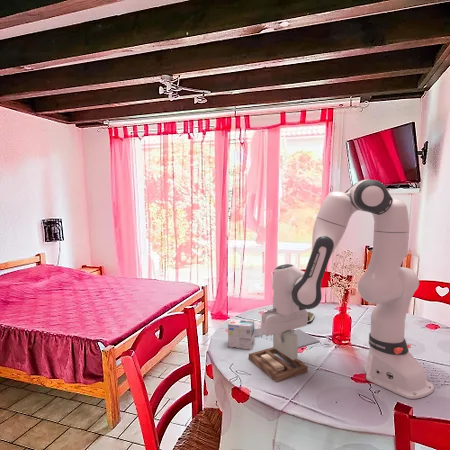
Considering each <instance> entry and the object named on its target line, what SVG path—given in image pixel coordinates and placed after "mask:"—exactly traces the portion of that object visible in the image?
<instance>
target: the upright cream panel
mask: <svg viewBox="0 0 450 450" xmlns="http://www.w3.org/2000/svg"><path fill="white" fill-rule="evenodd" d="M280 336H281V337H282V338H284V340H283V341H284V342H283V343H279V342H278V337H277V336H276V334H273V335H272V343H273V344H272V345H273V346H272V347H273V348H275V349H276V350H278V351H279V352H281V353H282V354H284V355H286V356H287V357H289V358H290V359H292V360H294V359H299V357H298V354H299V353H298V350H299V348H298V347H297V335H296V334H294V333H293V332H291V331H289V330H288V331H285V332H281V335H280Z"/></svg>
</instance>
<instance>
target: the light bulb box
mask: <svg viewBox="0 0 450 450" xmlns="http://www.w3.org/2000/svg"><path fill="white" fill-rule="evenodd" d="M254 321H255V320H251V319H237V318H231V319H230V320H229V322H228V323H227V338H228V339H227V340H228V341H227V343H228V346H229V347H228V346H227V347H228V348H232V347H236V348H235V349H241V348H242V349H243V350H249V351H250V350H252V349H253V348H254V346H255V345H256V344H255V341H256V340H255V337H256V336H255V335H254ZM242 349H241V350H242Z"/></svg>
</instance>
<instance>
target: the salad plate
mask: <svg viewBox="0 0 450 450" xmlns="http://www.w3.org/2000/svg"><path fill="white" fill-rule="evenodd" d="M307 315H308V323H307V325H308V324H311V323H312V322H313V320H314V319H315V313H313V312H311V311H307Z"/></svg>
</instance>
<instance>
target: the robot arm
mask: <svg viewBox="0 0 450 450" xmlns="http://www.w3.org/2000/svg"><path fill="white" fill-rule="evenodd" d="M357 211H361V212H366V213H371V214H372V217H373V221H374V223H373V238H372V239H373V243H372V252H371V256H370V261H369V262H368V265H367V268H366V271H365V272H364V273H363V275H362V277H360V278H359V281H358V282H357V283H358V284H357V290H358V293H359V295H360V297H361V298H362V299H363V301H366V302H368V303H370V304H376V305H375V307H374V308H373V309H372V311H371V314H370V332H369V333H368V345H369V349H368V355H367V360H366V363H365V365H364V372H365V374H366V375H365V379H366V381H368V382H371V383H372V384H375V385H378V386H380V387H382V388H384V389H386V390H389V392H392V393H395V394H397V395H399V396H401V397H404V398H406V399H410V400H411V399H412V400H415V399H416V400H417V399H421V398H424V397H427V396H429V395H431V394H432V393H434V390H435V387H434V384H433V383H432V382H430V381H429V380H427V373H426V370H425V368H424V367H423V366H422V364H420V362H419V361H418V360H417V359H416V358H415V357H414V356H413V355H412V353H411V352H410V351H409V349H410V348H412V343H411V344H407V340H406V338H405V327H406V318H407V313H408V310H409V306H410V304H411V301H412V298H413V296H414V294H415V292H416V291H417V290H418V288H419V285H420V279H419V276H418V275H417V273H416V272H415V271H414V270H412V269H411V268H409V267H405V266H404V267H403V266H402V263H403V262H404V259H405V258H407V256H408V253H409V238H410V237H409V236H410V219H409V210H408V207H407V204H406V203H405V202H404V201H403V200H400V199H397V198H393V197H392V196H391V194H390V192H389V190H388V189H387V187H386V186H385V185H384V184H383V183H382V182H381V181H379V180H376V179H362V180H360V181H357V182H355V183H354V184H353V185H351V186H350V187H349V188H348V189H347V190H346V191H345V192H344V191H337V190H336V191H332V192H329V193H328V194H327V195H326V197H325V199H323V202H322V204H321V205H320V208H319V211H318V212H317V215H316V217H315V220H314V224H313V229H312V235H311V236H312V239H311V240H312V243H311V244H312V245H311V251H310V252H311V253H310V256H309V259H308V263H307V265H306V268H305V270H301V269H299V268H298V267H295V265H294V264H289V263H287V264H281V265H278V266H276V267H275V269H273V272H272V283H271V284H272V290H273V294H272V308H271V309H266V310H264V311H263V313H262V314H261V321H260V322H261V332H262V333H263V334H262V335H264V336H266V337H270V336H273V334H276V336H277V337H278V342H279V343H283V342H284V341H283V340H284V338H282V337H281V336H280V335H281V332H285V331H288V330H289V331H291V332H293V333H294V331H295V329H296V330H297V329H299V328H304V327H307V325H308V324H307V323H308V315H307V312H308V311H307V310H312V309H315V308H316V307H318V305H319V304H320V303H321V301H322V281H323V279H324V276H325V272H326V269H327V267H328V264H329V261H330V259H331V256H332V255H333V253H334V252H335V250H336V248H337V247H338V245H339V243H340V241H341V240H342V238H343V236H344V234H345V232H346V230H347V227H348V225H349V221H350V218H351V217H352V216H353V214H354V213H355V212H357Z"/></svg>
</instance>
